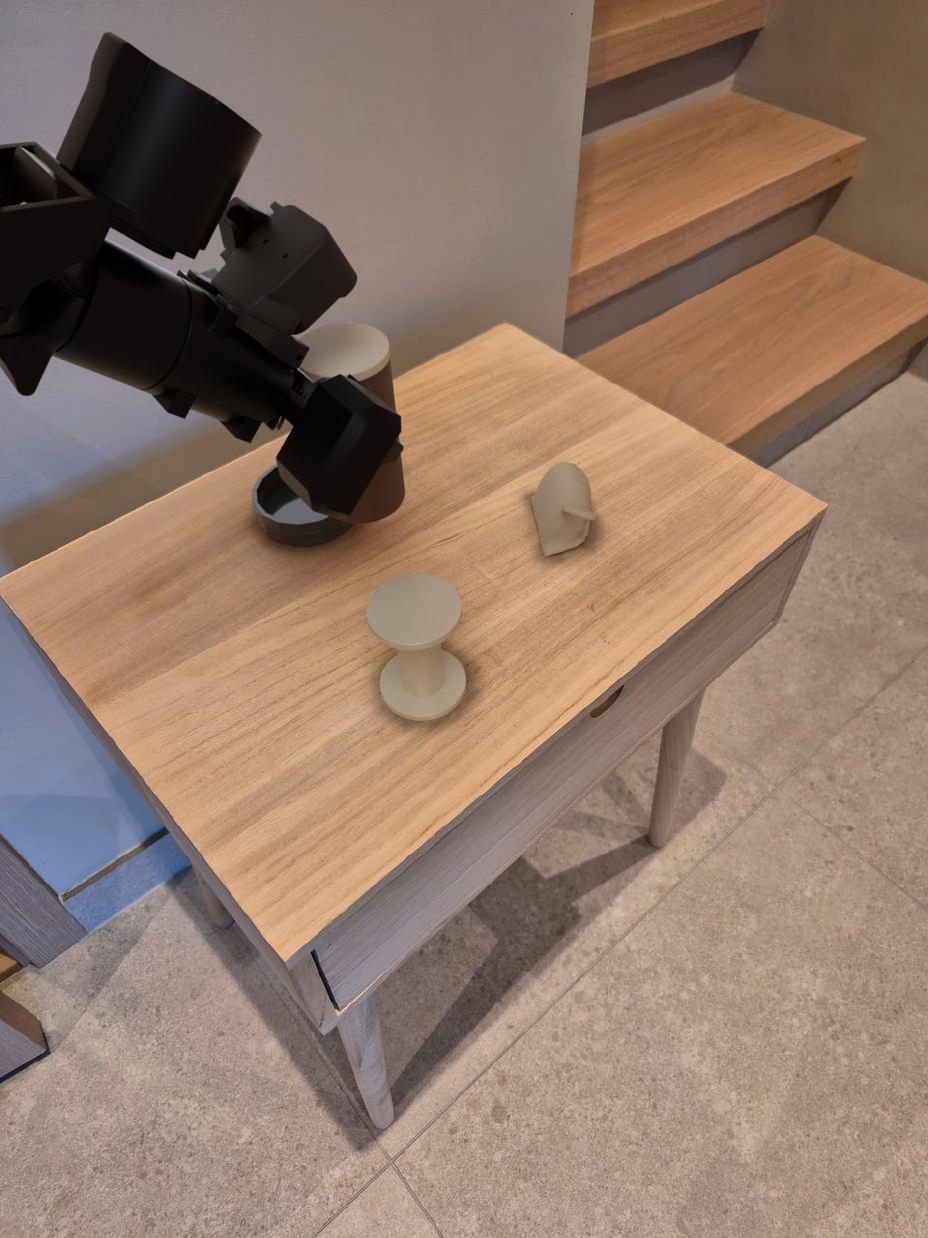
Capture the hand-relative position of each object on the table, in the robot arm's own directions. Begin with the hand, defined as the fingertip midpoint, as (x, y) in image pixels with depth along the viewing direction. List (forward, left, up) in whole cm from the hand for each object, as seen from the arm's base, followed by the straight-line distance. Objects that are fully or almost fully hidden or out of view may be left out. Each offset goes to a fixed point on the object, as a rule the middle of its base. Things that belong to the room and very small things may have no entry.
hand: (373, 430), depth 53 cm
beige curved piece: (+11, -8, -14) cm, 19 cm away
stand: (-7, -8, -13) cm, 17 cm away
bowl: (+2, +10, -13) cm, 17 cm away
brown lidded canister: (-1, 0, -5) cm, 5 cm away
